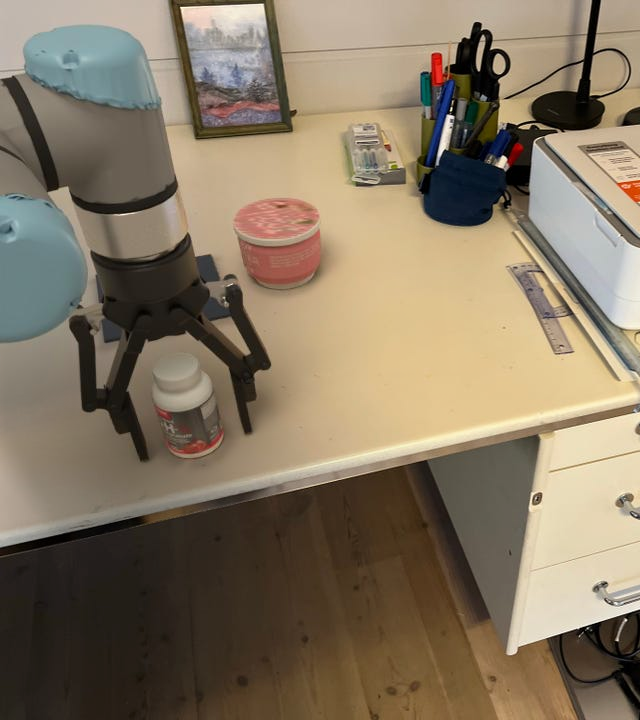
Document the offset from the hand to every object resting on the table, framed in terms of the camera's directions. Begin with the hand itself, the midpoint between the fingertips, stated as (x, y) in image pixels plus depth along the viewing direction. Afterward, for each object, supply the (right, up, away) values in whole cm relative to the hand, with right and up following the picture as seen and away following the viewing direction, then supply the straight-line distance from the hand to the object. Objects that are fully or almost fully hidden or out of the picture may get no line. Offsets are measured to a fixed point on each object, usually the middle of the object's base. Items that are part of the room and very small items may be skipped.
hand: (195, 436), depth 74 cm
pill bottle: (0, -1, 0) cm, 1 cm away
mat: (-11, +15, +18) cm, 26 cm away
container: (+3, +19, +23) cm, 30 cm away
